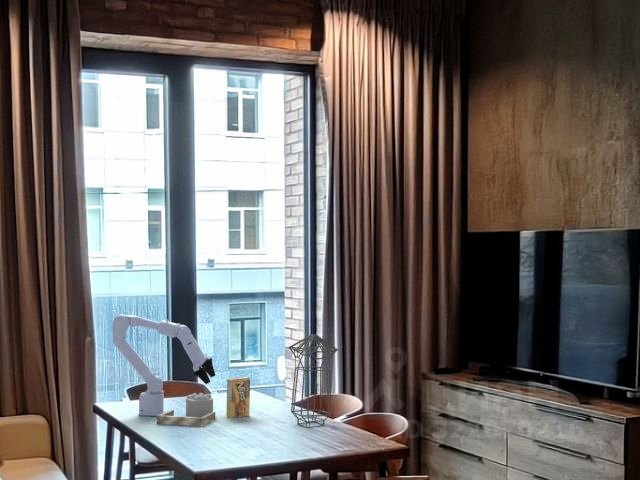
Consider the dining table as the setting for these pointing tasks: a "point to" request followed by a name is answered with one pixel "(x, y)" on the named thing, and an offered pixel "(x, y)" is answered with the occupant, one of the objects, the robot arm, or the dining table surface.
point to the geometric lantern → (318, 342)
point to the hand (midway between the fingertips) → (210, 379)
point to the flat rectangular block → (184, 419)
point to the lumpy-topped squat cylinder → (199, 405)
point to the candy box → (238, 397)
